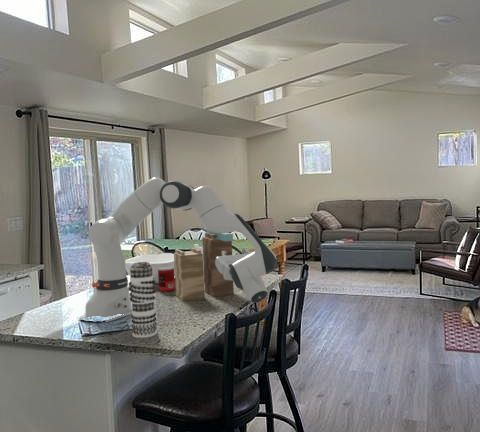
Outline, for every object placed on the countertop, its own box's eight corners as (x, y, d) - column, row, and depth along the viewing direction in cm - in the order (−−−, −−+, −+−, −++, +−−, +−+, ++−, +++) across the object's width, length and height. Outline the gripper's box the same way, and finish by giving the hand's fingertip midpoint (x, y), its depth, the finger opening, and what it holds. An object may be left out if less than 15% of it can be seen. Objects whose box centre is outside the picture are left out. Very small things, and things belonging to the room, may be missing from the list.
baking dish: (146, 274, 290) (145, 252, 290) (192, 275, 282) (191, 253, 281) (114, 287, 258) (113, 262, 257) (165, 288, 249) (164, 263, 249)
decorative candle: (160, 329, 181) (156, 260, 179) (154, 337, 172) (151, 265, 170) (135, 330, 181) (131, 261, 179) (128, 338, 172) (124, 265, 170)
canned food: (176, 288, 250) (175, 266, 249) (172, 291, 242) (171, 269, 241) (161, 288, 251) (160, 266, 250) (157, 292, 243) (156, 269, 242)
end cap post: (233, 294, 232) (231, 233, 230) (213, 296, 228) (210, 235, 226) (224, 289, 243) (222, 231, 241) (204, 291, 239) (202, 233, 237)
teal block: (233, 240, 220) (232, 233, 220) (225, 241, 218) (225, 234, 218) (213, 235, 244) (212, 229, 244) (206, 235, 242) (205, 229, 242)
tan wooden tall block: (204, 298, 227) (202, 250, 225) (183, 300, 223) (180, 252, 221) (196, 292, 238) (194, 247, 236) (175, 295, 234) (173, 249, 232)
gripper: (269, 262, 206) (257, 243, 217) (222, 267, 199) (212, 246, 209) (266, 274, 210) (254, 254, 220) (220, 280, 202) (210, 258, 213)
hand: (233, 250), depth 215 cm, fingers open, 8 cm apart
